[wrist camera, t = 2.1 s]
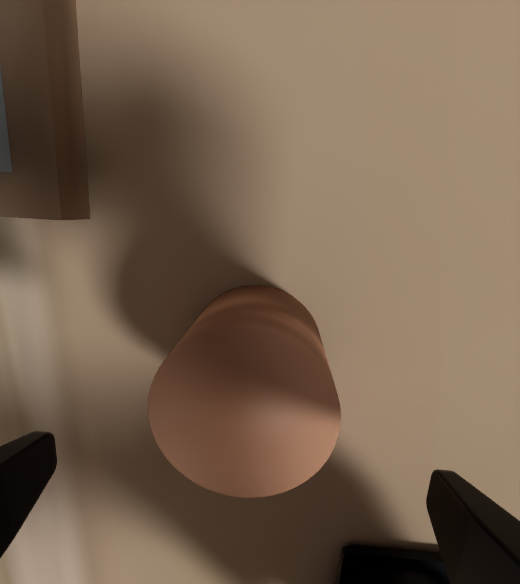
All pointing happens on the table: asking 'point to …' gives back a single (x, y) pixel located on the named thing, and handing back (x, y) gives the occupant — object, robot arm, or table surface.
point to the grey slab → (4, 136)
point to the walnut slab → (43, 111)
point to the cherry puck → (247, 396)
